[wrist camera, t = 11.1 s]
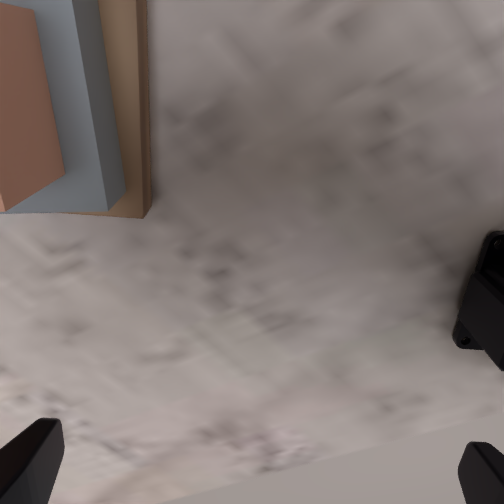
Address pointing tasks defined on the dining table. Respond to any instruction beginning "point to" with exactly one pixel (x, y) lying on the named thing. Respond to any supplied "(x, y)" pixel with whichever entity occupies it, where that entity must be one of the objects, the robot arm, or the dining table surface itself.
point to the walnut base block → (129, 100)
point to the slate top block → (77, 109)
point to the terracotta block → (24, 111)
